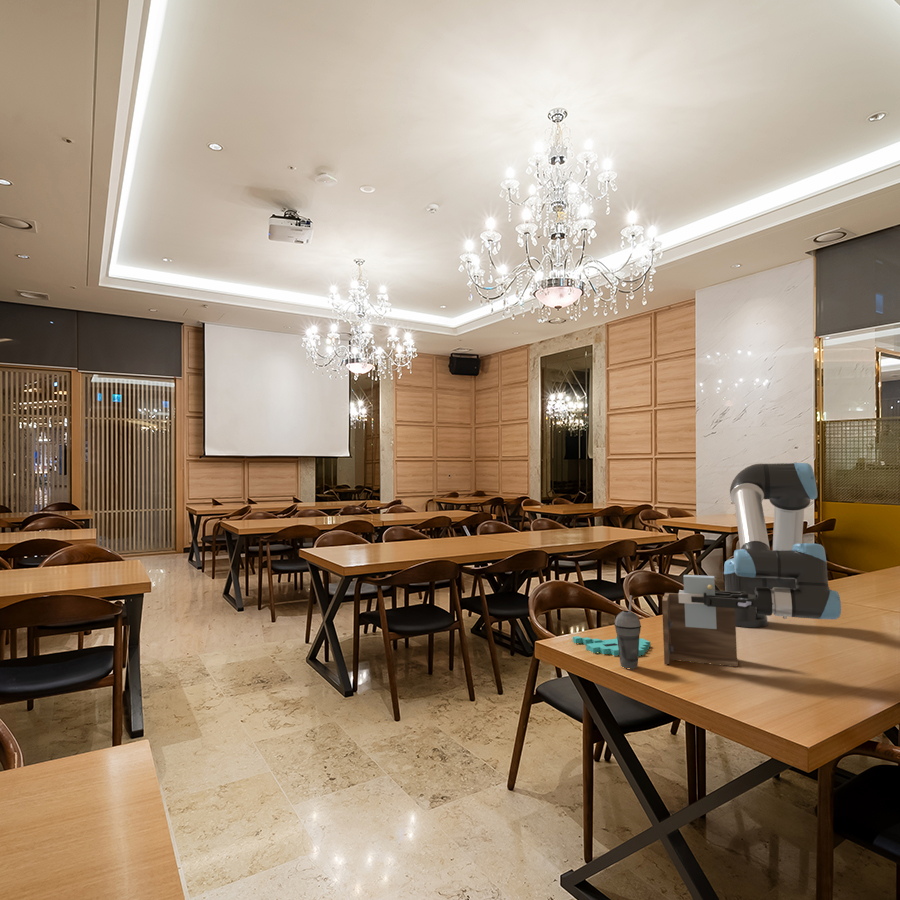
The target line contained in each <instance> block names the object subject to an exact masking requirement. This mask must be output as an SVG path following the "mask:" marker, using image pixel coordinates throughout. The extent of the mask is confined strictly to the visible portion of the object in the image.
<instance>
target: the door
mask: <svg viewBox="0 0 900 900" xmlns="http://www.w3.org/2000/svg"><path fill="white" fill-rule="evenodd" d="M715 586H716V584H715V576H714V575H702V574H701V575H699V574H684V575H683V590H684V593H691V594H703V595H704V593H706V595H715V591H716V587H715ZM685 626H686V627H695V628H708V629H717V625H716V607H708V606H707V605H704V604H688V603H685Z"/></svg>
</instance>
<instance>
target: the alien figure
mask: <svg viewBox="0 0 900 900" xmlns="http://www.w3.org/2000/svg"><path fill="white" fill-rule="evenodd" d="M573 642H574V643H573ZM572 643H573V644H575V643H583V644H582V645H584V644H585V645H584V646H585V650H586V649H587V650H586V651H588V650H589V651H591V652H593V653H596V654H598V653H597V652H600V653H599V654H601V653H602V654H601V655H603V654H609V655H610V654H612V655H614V656H613V657H618V656H617V655H619V648H618V640H617V636H616V637H615V638H612V639H610V638H609V639H599V638H591V637H587V636H586V637H582V636H572ZM651 645H652V644H651V641H649V640H647V639H645V638H643V637H641V638H640V637H639V653H638V657H642V656H641V655H644V656H645V654H646V653H645V652H648V651H649V649H650V648H649V647H651ZM589 651H588V652H589ZM591 652H590V653H591ZM593 653H592V654H593ZM612 655H611V656H612Z"/></svg>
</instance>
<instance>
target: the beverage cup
mask: <svg viewBox="0 0 900 900" xmlns="http://www.w3.org/2000/svg"><path fill="white" fill-rule="evenodd" d="M632 599H633V595H629V605H628V610H622V611H620V612H619V613H618V614H617V615H616V617H615V620H614V628H615V632H616V637H617V640H618V648H619V656H618V657H619V662H620V667H621V666H622V667H624V668H630V669H629V670H635V669H634V668H637V669H638V663H639V656H638V653H639V639H640V634H641V629H642V625H641V620H640V619H639V616H638V615H637V614H636V613H635V612H633V611H632ZM622 667H621V668H622ZM624 668H623V669H624Z"/></svg>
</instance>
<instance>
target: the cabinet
mask: <svg viewBox="0 0 900 900" xmlns="http://www.w3.org/2000/svg"><path fill="white" fill-rule="evenodd" d="M678 593H679V592H678ZM678 593H675V592H664V595H663V598H662V601H661V605H662V606H661V609H662V612H661V613H662V633H663V634H662V635H663V660H664V663H663V664H669V665H670V662H671V661H674V660H681V661H680V662H684V661H691V662H690V663H694V662H700V663H699V664H704V663H711V664H710V665H713V664H721V665H720V666H723V665H731V666H730V667H733V666H738V667H739V664H738V662H739V661H738V651H737V650H738V649H737V626H736V624H735V608H724V607H716V625H717V629H708V628H695V627H686V626H685V603H679V596H678Z"/></svg>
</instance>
